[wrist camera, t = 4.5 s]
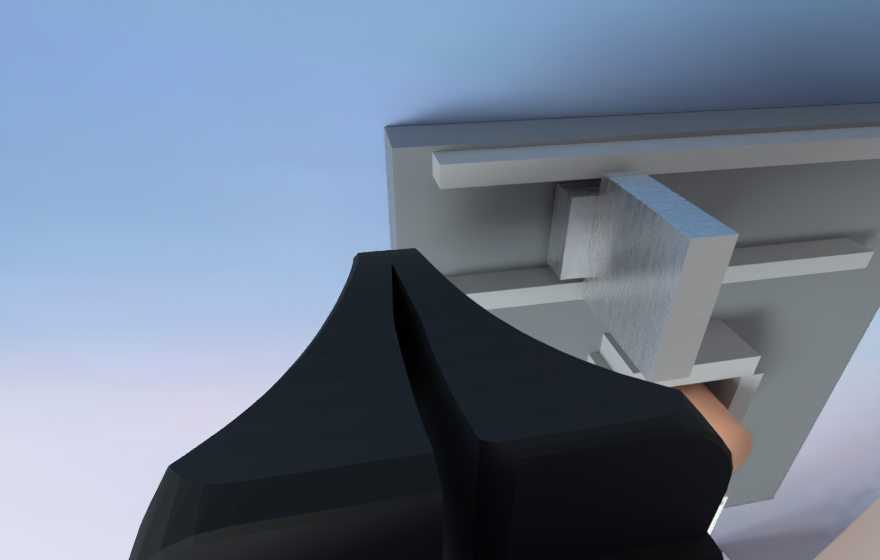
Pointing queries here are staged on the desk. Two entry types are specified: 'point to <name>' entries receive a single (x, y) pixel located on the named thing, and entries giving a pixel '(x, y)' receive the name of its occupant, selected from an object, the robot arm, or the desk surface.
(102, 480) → the desk surface
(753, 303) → the panel
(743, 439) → the push button
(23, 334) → the desk surface
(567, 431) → the robot arm
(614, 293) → the grey boxy piece
